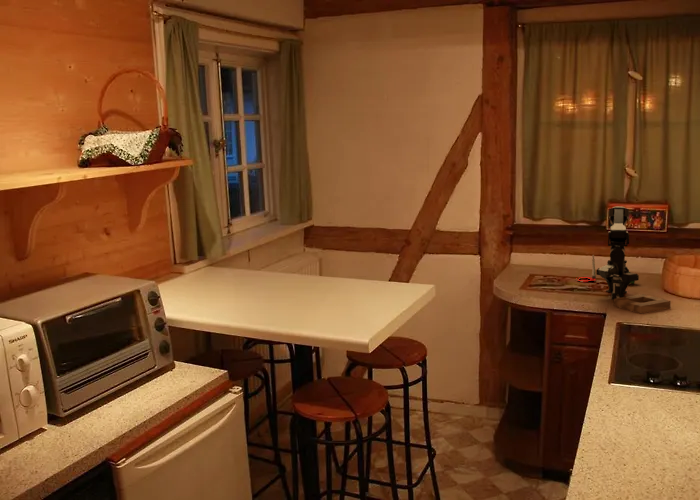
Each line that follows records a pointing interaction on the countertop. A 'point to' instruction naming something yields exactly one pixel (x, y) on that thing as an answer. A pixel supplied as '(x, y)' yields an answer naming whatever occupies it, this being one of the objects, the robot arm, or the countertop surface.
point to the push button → (616, 288)
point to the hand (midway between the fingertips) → (616, 293)
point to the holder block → (642, 303)
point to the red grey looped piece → (592, 272)
